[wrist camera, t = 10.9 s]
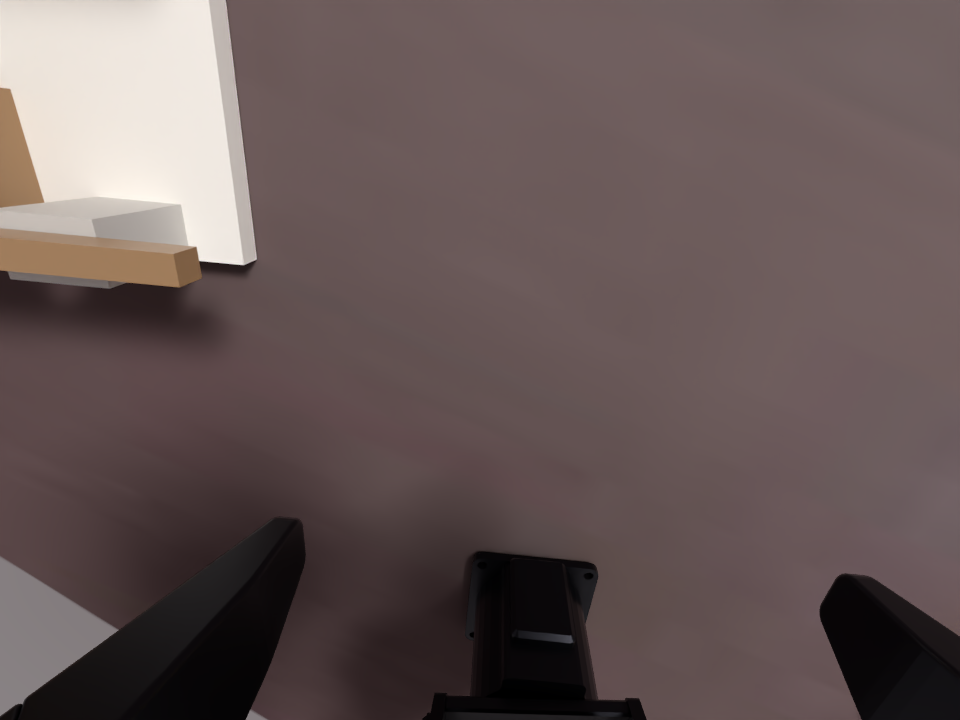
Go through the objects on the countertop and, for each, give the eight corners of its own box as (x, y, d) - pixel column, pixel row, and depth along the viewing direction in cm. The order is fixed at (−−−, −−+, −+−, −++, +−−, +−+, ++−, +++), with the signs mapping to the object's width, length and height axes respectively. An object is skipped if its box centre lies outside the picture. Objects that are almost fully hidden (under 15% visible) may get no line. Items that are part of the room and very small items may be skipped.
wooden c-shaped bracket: (215, -212, 12) (37, -436, 7) (266, 251, 17) (180, 289, 12) (-157, -244, 12) (-561, -485, 7) (5, 227, 17) (-177, 255, 12)
